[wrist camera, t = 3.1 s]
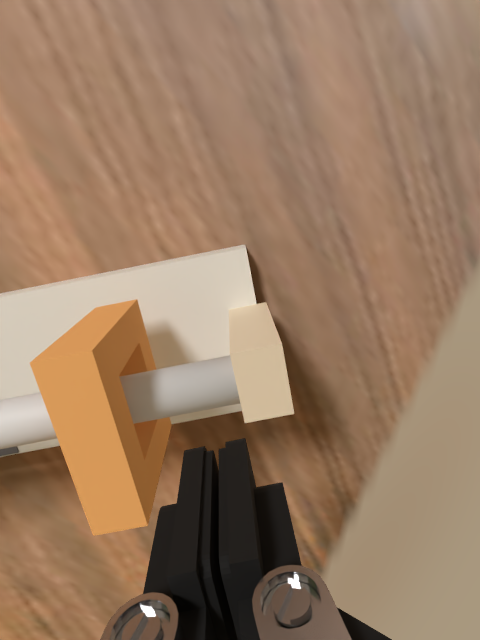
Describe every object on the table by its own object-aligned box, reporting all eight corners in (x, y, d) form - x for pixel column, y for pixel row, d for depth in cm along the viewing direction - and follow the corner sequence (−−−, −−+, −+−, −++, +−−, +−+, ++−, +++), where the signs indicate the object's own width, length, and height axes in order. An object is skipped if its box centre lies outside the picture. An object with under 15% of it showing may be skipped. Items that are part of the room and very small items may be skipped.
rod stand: (253, 242, 22) (268, 266, 15) (281, 391, 25) (306, 479, 17) (-154, 324, 23) (-351, 389, 15) (-87, 461, 25) (-225, 578, 18)
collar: (137, 299, 19) (92, 350, 13) (171, 425, 21) (147, 525, 15) (95, 307, 19) (29, 362, 13) (133, 432, 21) (93, 535, 15)
